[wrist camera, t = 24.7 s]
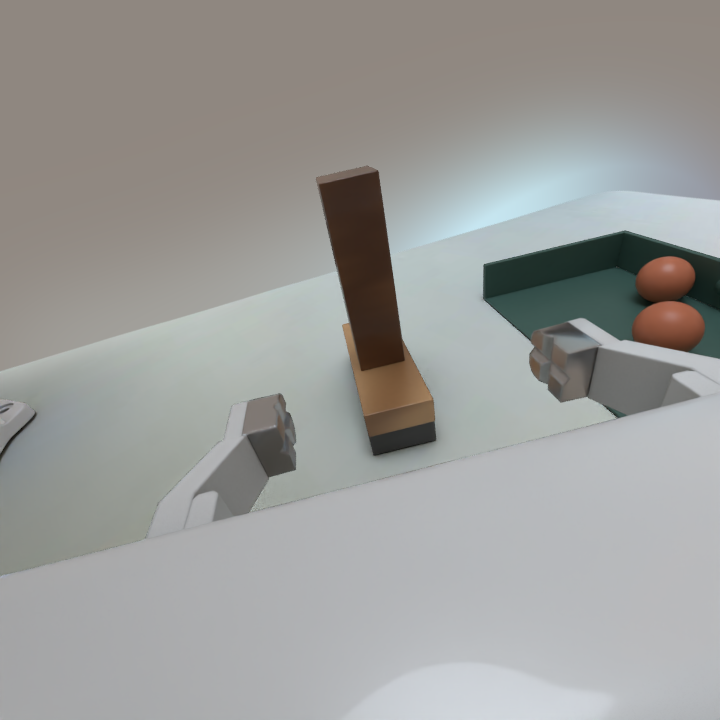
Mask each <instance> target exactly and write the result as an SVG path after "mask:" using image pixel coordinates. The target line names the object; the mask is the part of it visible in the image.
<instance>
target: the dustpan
mask: <svg viewBox="0 0 720 720" xmlns="http://www.w3.org/2000/svg"><path fill="white" fill-rule="evenodd" d="M667 256H672V257H678V258H682V259H684V260H686V261H687V262H689V263H690V264H691V266H692V267H693V269H694V271H695V282H694V285H693V287H692V288H691V290H690V291H689V292H688V293H687V294H686V296H683V297H681V298H680V299H678V300H675V301H676V302H681V303H685V304H687V305H690V306H691V307H693V308H694V309H696V310H697V311H698V312H699V313H700V314H701V316H702V318H703V320H704V323H705V332H704V336H703V338H702V340H701V341H700V342H699V344H698V345H697V346H696V347H695V348H693V349H692V350H690V351H688V353H693V354H698V355H703V356H708V357H713V358H718V359H720V310H718V309H720V258H717V257H713V256H710V255H706V254H703V253H700V252H696V251H693V250H690V249H686V248H683V247H679V246H676V245H673V244H669V243H666V242H662V241H659V240H656V239H652V238H649V237H646V236H642V235H639V234H635V233H632V232H629V231H621V232H617V233H613V234H608V235H604V236H600V237H596V238H592V239H588V240H583V241H579V242H575V243H571V244H567V245H562V246H558V247H554V248H550V249H546V250H542V251H537V252H533V253H529V254H525V255H521V256H517V257H512V258H508V259H504V260H500V261H496V262H491V263H487V264H484V271H483V299H484V300H485V301H487V302H488V303H489V304H490V305H491V306H492V307H493V308H494V309H496V310H497V311H498V312H499V313H500V314H501V315H502V316H504V317H505V318H506V319H507V320H508V321H509V322H510V323H511V324H513V325H514V326H515V327H516V328H517V329H518V330H519V331H521V332H522V333H523V334H524V335H525V336H526V337H527V338H529V339H530V340H531V335H532V333H533V331H534V330H538V329H542V328H546V327H550V326H554V325H557V324H561V323H564V322H567V321H571V320H574V319H578V318H583V319H586V320H588V321H589V322H591V323H593V324H594V325H596V326H597V327H599V328H600V329H602V330H604V331H605V332H607V333H608V334H610V335H612V336H613V337H615V338H616V339H618V340H620V341H623V340H628V341H633V342H635V341H634V339H633V336H632V325H633V322H634V320H635V318H636V317H637V315H638V314H639V313H640V312H641V311H642V310H644V309H645V308H647V307H649V306H651V305H653V304H656V303H655V302H651V301H648V300H646V299H644V298H643V297H642V296H641V295H640V294H639V293H638V291H637V289H636V285H635V282H636V277H637V274H638V273H639V271H640V270H641V269H642V267H643V266H645V265H646V264H647V263H649V262H650V261H652V260H654V259H657V258H660V257H667ZM618 267H619V268H618ZM620 268H621V269H620ZM625 270H626V271H625ZM627 271H628V272H627ZM630 272H631V273H630ZM632 273H633V274H632ZM687 296H688V297H687ZM690 297H691V298H690ZM692 298H693V299H692ZM694 299H696V300H694ZM697 300H698V301H697ZM699 301H700V302H699ZM702 302H703V303H702ZM704 303H705V304H704ZM706 304H708V305H706ZM709 305H710V306H709ZM711 306H712V307H711ZM714 307H715V308H714ZM716 308H717V309H716ZM606 407H607V408H608V409H609V410H610V411H611V412H612V413H614V414H615V415H616V416H617V417H618V418H621V417H625V416H628V415H626V414H624V413H621V412H619V411H617V410H614V409H612V408H610V407H608V406H606Z"/></svg>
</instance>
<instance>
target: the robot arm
mask: <svg viewBox="0 0 720 720" xmlns="http://www.w3.org/2000/svg"><path fill="white" fill-rule="evenodd" d="M531 343H532V344H533V346H534V349H533V350H532V351H531V353H530V356H529V364H530V367H531V371H532V373H533V374H534V376H535V377H536V378H537V379H538V380H539V381H540V382H543V383H546V384H548V390H549V391H550V392H551V393H552V394H553V395H554V396H555V397H556V398H557V399H558V400H559V401H560V402H566V401H570V400H575V399H579V398H583V397H588V398H589V399H592V400H594V401H596V402H599V403H601V404H603V405H605V406H608V407H610V408H612V409H614V410H617V411H619V412H621V413H624V414H626V415H628V416H625V417H621V418H617V419H613V420H609V421H605V422H601V423H597V424H593V425H590V426H586V427H582V428H578V429H574V430H570V431H566V432H562V433H558V434H554V435H550V436H546V437H542V438H539V439H535V440H531V441H527V442H523V443H519V444H515V445H511V446H507V447H503V448H499V449H496V450H492V451H488V452H484V453H480V454H476V455H472V456H468V457H464V458H461V459H457V460H453V461H449V462H445V463H441V464H437V465H433V466H430V467H426V468H422V469H418V470H414V471H410V472H406V473H402V474H398V475H394V476H390V477H387V478H383V479H379V480H375V481H371V482H367V483H363V484H359V485H355V486H351V487H347V488H343V489H340V490H336V491H332V492H328V493H324V494H320V495H316V496H312V497H308V498H304V499H300V500H297V501H293V502H289V503H285V504H281V505H277V506H273V507H269V508H265V509H261V510H257V511H253V512H250V513H249V511H250V510H251V508H252V506H253V505H254V503H255V501H256V500H257V498H258V496H259V495H260V493H261V491H262V490H263V488H264V486H265V485H266V483H267V481H268V480H269V477H272V476H276V475H279V474H283V473H286V472H290V471H294V470H296V452H295V449H294V447H293V446H294V444H295V443H296V433H295V427H294V423H293V420H292V417H291V415H290V413H288V412H286V402H285V400H284V398H283V395H282V394H281V393H279V394H275V395H270V396H266V397H261V398H257V399H253V400H249V401H244V402H240V403H236V404H233V405H232V406H231V409H230V413H229V418H228V422H227V426H226V430H225V434H224V438H223V441H220V442H218V443H217V444H216V445H215V446H214V447H213V448H212V449H211V450H210V451H209V452H208V453H207V454H206V455H205V456H204V457H203V458H202V459H201V460H200V461H199V462H198V463H197V464H196V465H195V466H194V467H193V468H192V469H191V470H190V471H189V472H188V473H187V474H186V475H185V476H184V477H183V478H182V479H181V480H180V481H179V482H178V483H177V484H176V486H175V487H174V488H173V489H172V490H171V491H170V492H169V493H168V494H167V495H166V496H165V497H164V498H163V499H162V500H161V501H160V502H159V503H158V505H157V508H156V510H155V513H154V516H153V518H152V521H151V524H150V526H149V529H148V532H147V534H146V537H145V539H144V540H140V541H136V542H132V543H128V544H124V545H120V546H116V547H113V548H109V549H105V550H101V551H97V552H93V553H89V554H85V555H81V556H77V557H73V558H70V559H66V560H62V561H58V562H54V563H50V564H46V565H42V566H38V567H34V568H30V569H26V570H22V571H18V572H14V573H10V574H5V575H1V576H0V720H720V359H718V358H713V357H708V356H703V355H698V354H693V353H688V352H683V351H678V350H673V349H668V348H663V347H658V346H653V345H648V344H643V343H638V342H633V341H628V340H623V341H620V340H618V339H616V338H615V337H613V336H612V335H610V334H608V333H607V332H605V331H604V330H602V329H600V328H599V327H597V326H596V325H594V324H593V323H591V322H589V321H588V320H586V319H583V318H578V319H574V320H571V321H567V322H564V323H561V324H557V325H554V326H550V327H546V328H542V329H538V330H534V331H533V333H532V335H531ZM34 414H35V411H34V410H33V409H32V408H31V407H30V406H28V405H27V404H26V403H24V402H18V401H11V400H5V399H0V453H1V452H2V450H3V448H4V447H5V445H6V444H7V442H8V441H9V439H10V438H11V437H12V436H13V435H14V434H15V433H16V432H17V431H18V430H20V429H21V428H22V427H23V426H24V425H25V424H26V423H27V422H28V421H29V420H30V419H31V418H32V417H33V415H34Z"/></svg>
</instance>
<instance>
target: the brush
mask: <svg viewBox="0 0 720 720" xmlns="http://www.w3.org/2000/svg"><path fill="white" fill-rule="evenodd" d="M316 181H317V185H318V190H319V194H320V198H321V202H322V207H323V211H324V216H325V220H326V225H327V229H328V233H329V238H330V242H331V246H332V250H333V255H334V259H335V264H336V268H337V272H338V277H339V281H340V285H341V290H342V294H343V298H344V303H345V307H346V311H347V316H348V320H349V323H347V324H343V325H342V327H343V331H344V335H345V339H346V343H347V348H348V352H349V356H350V360H351V364H352V369H353V373H354V377H355V381H356V385H357V390H358V394H359V398H360V402H361V406H362V411H363V415H364V419H365V423H366V427H367V431H368V435H369V439H370V443H371V447H372V452H373V455H377V454H381V453H385V452H389V451H393V450H397V449H401V448H405V447H409V446H413V445H417V444H421V443H425V442H429V441H433V440H436V433H435V423H434V421H435V412H434V402H433V398H432V396H431V394H430V392H429V390H428V388H427V386H426V384H425V382H424V380H423V378H422V376H421V374H420V373H419V371H418V369H417V367H416V365H415V363H414V361H413V359H412V357H411V355H410V353H409V351H408V349H407V347H406V345H405V343H404V341H403V340H402V335H401V328H400V321H399V314H398V307H397V300H396V293H395V285H394V278H393V271H392V264H391V257H390V250H389V243H388V236H387V229H386V222H385V214H384V208H383V200H382V194H381V186H380V179H379V172H378V170H376V169H374V168H372V167H369V166H364V167H360V168H355V169H351V170H346V171H342V172H338V173H333V174H329V175H325V176H320V177H317V178H316Z"/></svg>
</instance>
